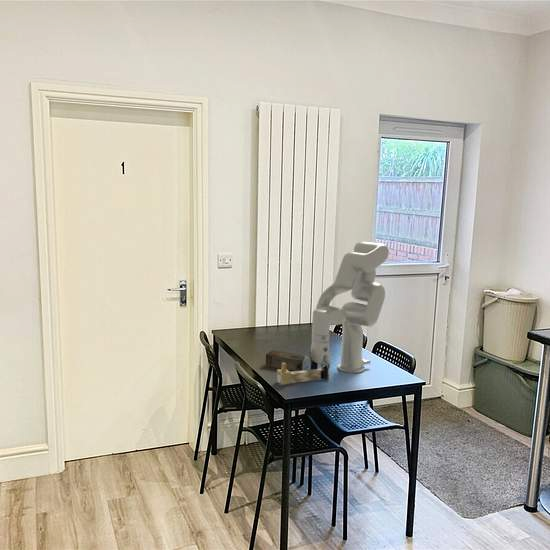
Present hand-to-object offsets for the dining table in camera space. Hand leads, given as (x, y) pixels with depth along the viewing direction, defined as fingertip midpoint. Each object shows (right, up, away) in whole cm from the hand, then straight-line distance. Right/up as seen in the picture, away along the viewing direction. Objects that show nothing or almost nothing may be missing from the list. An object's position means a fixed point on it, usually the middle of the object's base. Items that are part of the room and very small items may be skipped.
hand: (318, 375), depth 240 cm
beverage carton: (-14, 0, +16) cm, 21 cm away
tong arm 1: (-4, -2, -1) cm, 5 cm away
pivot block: (-16, -2, -6) cm, 17 cm away
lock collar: (-16, -2, -6) cm, 17 cm away
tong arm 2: (-4, -2, -2) cm, 5 cm away
